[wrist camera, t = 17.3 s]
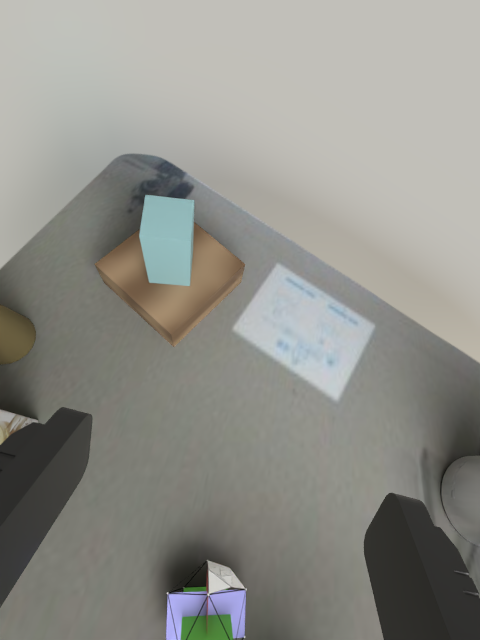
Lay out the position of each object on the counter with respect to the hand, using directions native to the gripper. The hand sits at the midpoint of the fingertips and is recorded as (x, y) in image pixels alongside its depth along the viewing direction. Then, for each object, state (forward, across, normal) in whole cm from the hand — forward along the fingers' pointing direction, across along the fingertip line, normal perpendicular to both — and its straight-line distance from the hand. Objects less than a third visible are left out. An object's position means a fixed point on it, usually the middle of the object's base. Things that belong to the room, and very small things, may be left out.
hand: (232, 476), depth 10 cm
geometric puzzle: (+14, -3, +30) cm, 33 cm away
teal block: (+32, +10, +5) cm, 34 cm away
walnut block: (+36, +10, +8) cm, 38 cm away
